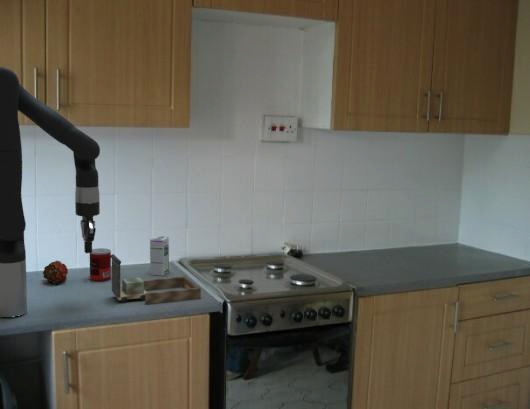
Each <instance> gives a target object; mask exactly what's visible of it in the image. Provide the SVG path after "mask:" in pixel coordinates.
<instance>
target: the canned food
mask: <svg viewBox="0 0 530 409" xmlns="http://www.w3.org/2000/svg"><path fill="white" fill-rule="evenodd" d="M111 255H112V251H111V249H109V248H105V247H103V248H102V247H101V248H92V253H89V279H90V281H92V282H97V283H98V282H99V283H100V282H106V281H109V280H110V279H112V258H111Z"/></svg>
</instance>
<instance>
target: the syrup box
mask: <svg viewBox="0 0 530 409" xmlns="http://www.w3.org/2000/svg"><path fill="white" fill-rule="evenodd" d="M169 241H170V238H169V236H164V235H163V236H162V235H159V236H158V235H156V236H154V237H152V238H150V239H149V256H150V257H149V258H150V260H149V266H150V267H149V269H150V270H149V272H150V273H149V274H150V275H152V276H160V277H161V276H162V277H163V276H165V275H167V274H168V273H169V272H170V253H169V252H170V250H169V249H170V247H169V246H170V245H169V243H170V242H169Z"/></svg>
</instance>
